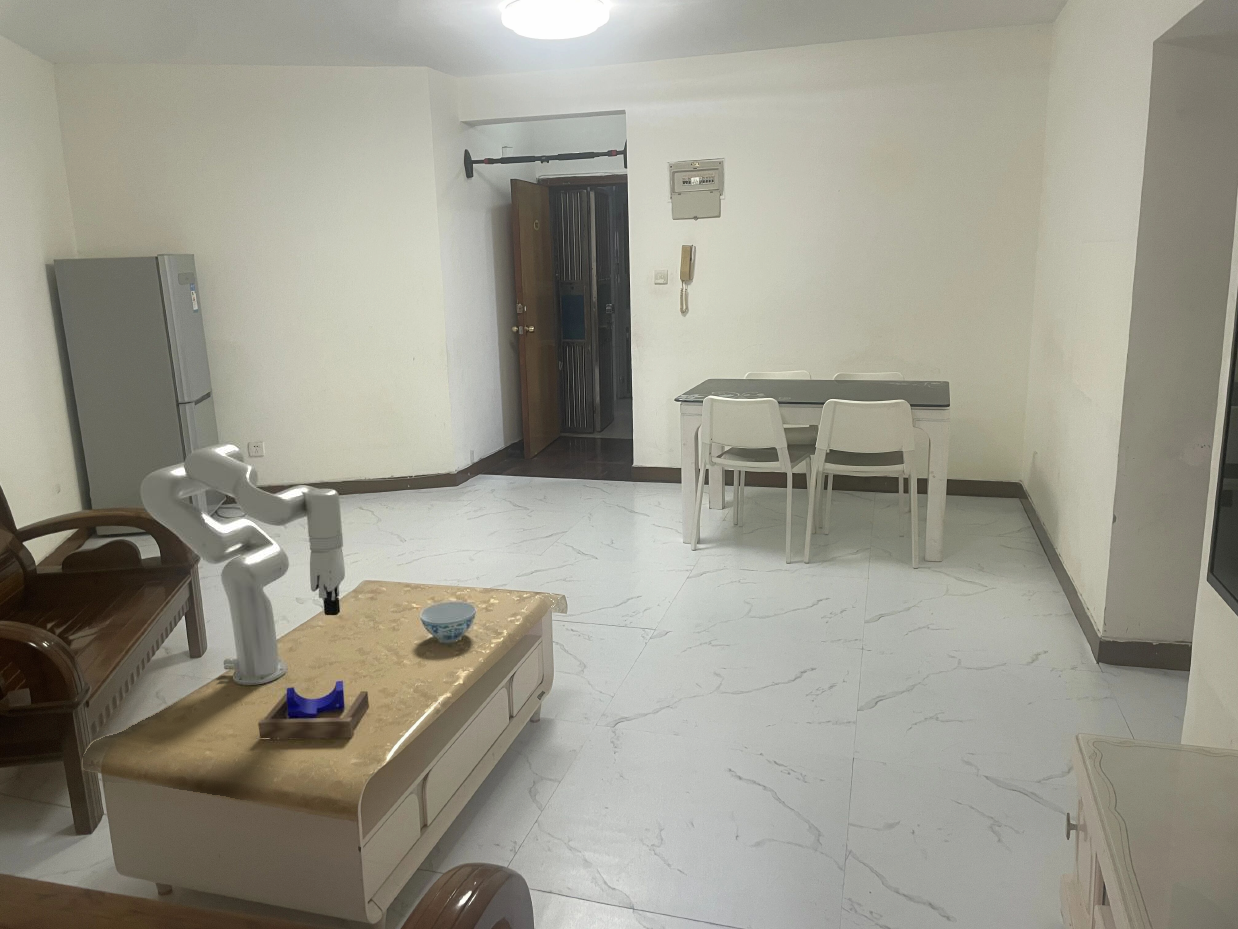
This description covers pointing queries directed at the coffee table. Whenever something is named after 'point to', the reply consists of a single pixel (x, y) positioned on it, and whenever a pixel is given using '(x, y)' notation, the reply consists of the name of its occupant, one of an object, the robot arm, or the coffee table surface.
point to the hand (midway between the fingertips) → (332, 613)
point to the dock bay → (312, 722)
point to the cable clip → (314, 703)
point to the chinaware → (448, 620)
